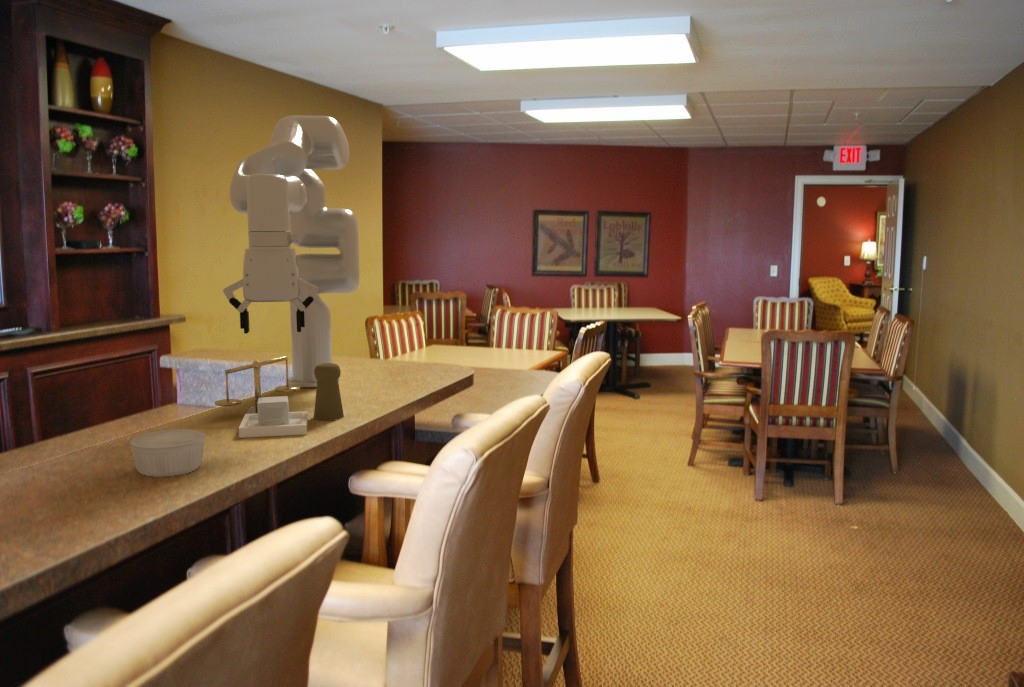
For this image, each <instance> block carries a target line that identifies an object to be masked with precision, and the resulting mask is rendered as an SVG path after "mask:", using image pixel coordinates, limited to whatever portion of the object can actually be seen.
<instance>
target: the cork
mask: <svg viewBox="0 0 1024 687" xmlns="http://www.w3.org/2000/svg"><path fill="white" fill-rule="evenodd" d="M341 372H342V371H341V367H340V366H339V365H338V364H337V363H333V362H332V363H322V364H319V365H317V366H316V367H315V370H314V374H315V378H316V379H317V387H316V388H315V389H316V391H315V400H314V410H313V419H314V420H317V421H336V420H335V419H337V420H340V418H341V419H343V418H344V417H345V415H344V410H343V404H342V396H341V390H340V383H339V382H338V379H339V380H340V377H341V374H342V373H341ZM342 417H343V418H342Z"/></svg>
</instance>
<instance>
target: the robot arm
mask: <svg viewBox="0 0 1024 687" xmlns="http://www.w3.org/2000/svg"><path fill="white" fill-rule="evenodd" d="M349 160H350V145H349V142H348V138H347V136H346V134H345V132H344V129H343V127H342V125H341V124H340V123H339V121H338V120H337V119H335V118H334V117H332V116H329V115H304V114H303V115H299V114H298V115H297V114H295V115H287V116H284V117H282V118H280V119H279V120H278V121H277V122H276V124H275V125H274V128H273V131H272V135H271V137H270V140H269V144H268V146H265V147H264V148H261V149H259V150H258V151H256V152H254V153H252V154H250V155H248V156H246V157H245V158H243V159H242V160H241V161H240V162H238V164H237V166H236V167H235V169H234V172H233V175H232V177H231V181H230V184H229V185H230V186H229V193H228V194H229V200H230V203H231V206H232V207H233V209H234V210H235V211H236V212H238V213H241V214H244V215H246V214H247V231H248V234H247V235H248V236H247V238H248V248H245V249H244V256H243V257H244V258H243V268H242V279H240V280H238V281H236V282H233V283H232V284H230V285H228V286H227V287H225V288H223V290H222V292H223V294H224V296H225V297H226V299H227V301H228V302H229V304H230V305H232V307H234V308H235V310H237V311H238V313H239V325H240V326H239V328H240V329H242V330H243V334H248V333H250V312H249V311H248V307H249V306H250V305H251V303H274V302H275V303H278V302H279V303H280V302H283V303H284V302H289V309H290V310H289V312H290V315H289V316H290V335H291V336H290V337H291V340H290V341H291V364H292V365H291V367H292V376H290V377H288V383H289V385H295V386H300V388H317V379H316V378H315V374H314V370H315V367H316V366H317V365H319V364H322V363H333V350H332V348H333V347H332V320H331V319H332V317H331V310H330V308H329V306H328V304H327V303H326V302H325V301H324V300H323V298H322V297H321V296H320V295H322V294H350V293H354V292H355V291H357V289H358V287H359V284H360V245H359V243H360V242H359V227H358V226H359V224H358V220H357V217H356V214H355V213H354V212H353V211H352V210H351V209H347V208H344V207H342V208H341V207H332V208H331V207H327V204H326V201H327V200H326V187H325V185H324V183H323V181H322V180H321V178H319V176H318V175H317V174H316V172H315V171H313V170H324V171H325V170H330V171H331V170H332V171H334V170H336V171H337V170H343V169H344V168H346V166H347V165H348V162H349ZM292 244H294V245H295V246H297V247H299V248H304V249H307V248H308V249H336V250H338V251H339V253H299V254H297V253H296V249H295V248H292V247H291V246H292ZM240 288H242V293H243V294H242V295H243V298H244V299H243V301H242V302H241V301H240V300H239V299H237V298H236V296H235V295H234V292H235V291H237V290H239V289H240ZM339 382H340V378H339V379H338V383H339Z"/></svg>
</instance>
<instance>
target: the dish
mask: <svg viewBox="0 0 1024 687" xmlns="http://www.w3.org/2000/svg"><path fill="white" fill-rule="evenodd" d="M308 425H309V411H307V410H306V411H305V410H304V411H289V425H270V426H259V425H258V413H254V414H247V413H245V414H244V416H243V418H242V420H241V422H240V425H239V426H238V438H242V439H243V438H259V437H260V438H261V437H262V438H263V437H278V436H283V437H285V436H286V437H287V436H301V435H302V436H304V435H305V436H306V435H307V433H308Z"/></svg>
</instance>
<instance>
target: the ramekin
mask: <svg viewBox="0 0 1024 687" xmlns="http://www.w3.org/2000/svg"><path fill="white" fill-rule="evenodd" d="M205 442H206V435H205V433H204V432H202V431H200V430H194V429H165V430H157V431H151V432H147V433H143V434H140V435H137V436H134V438H133V437H132V439H131V440H130V441H129V448H130V450H131V451H132V456H133V461H134V463H135V467H136V470H137V471H138V473H139V474H140V475H142V474H143V475H142V476H144V475H146V477H149V476H153V477H152V478H163V477H162V476H170V477H176V476H175V475H178V476H181V475H180V474H183V475H186V473H187V474H189V472H190V473H193V472H194V471H196V470H197V469H198V468H199V467H200V466H201V465H202V463H203V462H202V461H203V454H204V448H205V447H204V446H205V445H204V444H205ZM192 471H193V472H192Z"/></svg>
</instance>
